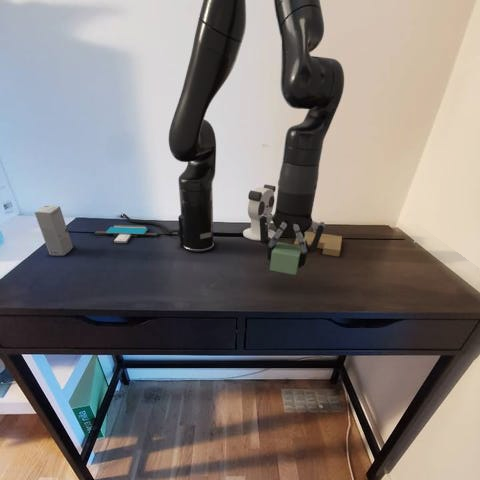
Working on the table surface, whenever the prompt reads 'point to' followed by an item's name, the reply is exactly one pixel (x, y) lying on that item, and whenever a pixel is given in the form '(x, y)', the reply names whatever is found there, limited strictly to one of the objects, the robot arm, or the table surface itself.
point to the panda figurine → (259, 210)
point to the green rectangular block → (285, 258)
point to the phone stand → (126, 232)
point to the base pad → (325, 243)
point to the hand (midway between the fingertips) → (285, 263)
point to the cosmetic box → (54, 230)
